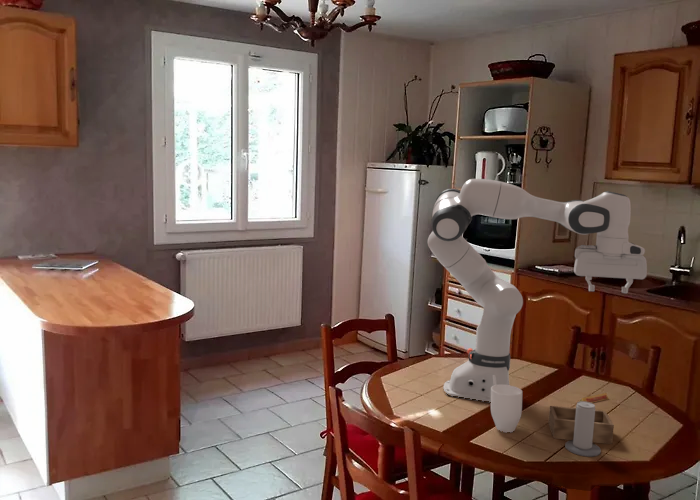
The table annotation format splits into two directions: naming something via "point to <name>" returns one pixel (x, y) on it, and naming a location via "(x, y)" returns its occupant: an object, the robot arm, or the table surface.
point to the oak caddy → (565, 423)
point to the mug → (506, 406)
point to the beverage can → (584, 425)
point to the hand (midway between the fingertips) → (607, 292)
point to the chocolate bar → (595, 398)
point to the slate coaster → (589, 453)
